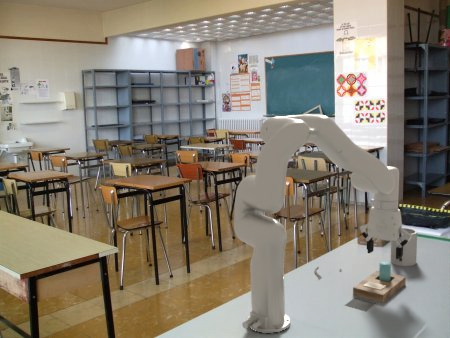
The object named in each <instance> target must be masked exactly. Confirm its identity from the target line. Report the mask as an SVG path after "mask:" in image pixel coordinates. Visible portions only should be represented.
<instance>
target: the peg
mask: <svg viewBox="0 0 450 338" xmlns="http://www.w3.org/2000/svg"><path fill="white" fill-rule="evenodd" d="M391 266H392V264H391V262H387V261H382V262H379V267H378V269H379V270H378V271H379V280H382V281H386V282H390V281H391V274H392V272H391V270H392V267H391Z"/></svg>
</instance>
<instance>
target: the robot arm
mask: <svg viewBox="0 0 450 338" xmlns="http://www.w3.org/2000/svg"><path fill="white" fill-rule="evenodd" d="M259 136H260V138H261V140H262V142H264V145H263V146H262V147H261V149H260V151H259V153H258V155H257V160H256V166H255V174H250V175H247V176H245V177H244V178H243V179H241V181H240V182H239V184H238V186H237V188H236V191H235V192H236V194H235V203H234V215H233V218H234V219H233V227H234V228H233V229H234V233H235V236H236V238H238V240H239V241H241V242H243V243H245V244H247V245H248V246H251V247H252V248H253V252H252V256H251V259H250V267H249V270H250V295H251V296H250V298H251V300H250V302H251V303H250V304H251V311H250V313H249V315H248V316H247V318H246V320H245V321H242V327H243V329H246V330H247V329H248V328H249V327H250V328H252V329H254V330H256V331H258V332H257V333H259V332H262V333H261V334H266V333H271V334H274V333H273V332H278V333H280V332H279V331H281V330H284V331H286V330H287V329H288V328H290V326H291V317H290V316H289V315H287V314H286V309H285V307H286V305H285V303H286V302H285V267H284V265H285V251H286V245H287V236H288V235H287V231H286V228H285V227H284V225H283V224H282V223H281V222H280V221H278V220H277V219H274V218H273V217H269V216H267V215H265V214H264V213H266V214H276V213H278V212H280V211H281V209H282V208H283V206H284V202H285V195H286V180H287V172H288V165H289V162H290V160H291V158H292V157H293V155H294V154H295V153H296V152H297V151H298V150H299V149H301V148H302V147H303V146H304V145H305V144H307V143H310V144H313V145H315V146H316V147H317V148H318V150H320V152H322V153H323V154H324V155H325V157H327V158H328V159H329V160H330V161H331V162H332V163H333V164H334V165H335V166H337V167H339V168H341V169H343V170H346V171H348V172H351V173H352V174H351V175H350V184H351V185H352V186H353V188H354V189H356V190H358V191H362V192H365V193H370V194H373V198H370V200H369V203H370V204H372V207H371V208H370V210H369V215H368V221H367V223H366V224H364V225H361V226H359V231H360V232H361V235H362V237H363V238H364V239H365V241H366V251H367V254H371V253H372V252H373V253H374V247H375V245H374V243H375V242H374V241H375V240H374V239H376V240H382V241H388V242H391V241H394V242H395V243H396V244H397V246H398V247H396V259H399V260H400V259H402V258H401V257H402V256H403V246H404V245H405V244H407V243H408V242H409V240H410V239H411V237H412V235H411V234H410V233H409V232H407V231H406V230H404V229H403V228H404V227H403V221H402V213H401V209H399V190H400V189H399V188H400V170H399V168H398V167H395V166H390V165H389V166H388V165H386V164H385V163H383V162H382V161H381V160H380V159H379V158H377V157H376V156H375V155H374V154H372V153H370V152H368V151H367V150H365V149H364V148H362V147H360V146H359V145H357V144H356V143H354V141H353V140H352V139H351V138H350V137H349V136H348V135H347V134H346V133H345V132H344V130H342V129H341V127H339V125H338V124H337V123H336V122H335V121H334V120H333V119H332V118H331V117H329V116H327V115H324V114H310V113H308V114H297V115H286V116H285V115H284V116H273V117H269V118H267V119H265V121H263V122H262V124H261V126H260V130H259ZM366 229H367V230H366ZM402 234H403V235H404V236H405V237H406V238H405V240H404V241H403V240H402V239H401V237H402ZM250 328H249V329H250ZM286 328H287V329H286ZM252 329H251V330H252ZM285 329H286V330H285ZM256 331H255V332H256Z"/></svg>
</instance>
